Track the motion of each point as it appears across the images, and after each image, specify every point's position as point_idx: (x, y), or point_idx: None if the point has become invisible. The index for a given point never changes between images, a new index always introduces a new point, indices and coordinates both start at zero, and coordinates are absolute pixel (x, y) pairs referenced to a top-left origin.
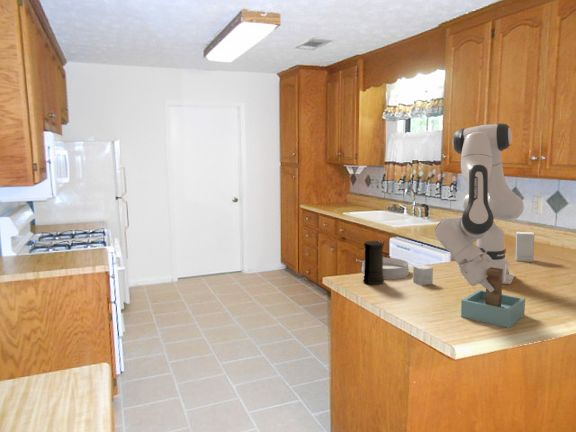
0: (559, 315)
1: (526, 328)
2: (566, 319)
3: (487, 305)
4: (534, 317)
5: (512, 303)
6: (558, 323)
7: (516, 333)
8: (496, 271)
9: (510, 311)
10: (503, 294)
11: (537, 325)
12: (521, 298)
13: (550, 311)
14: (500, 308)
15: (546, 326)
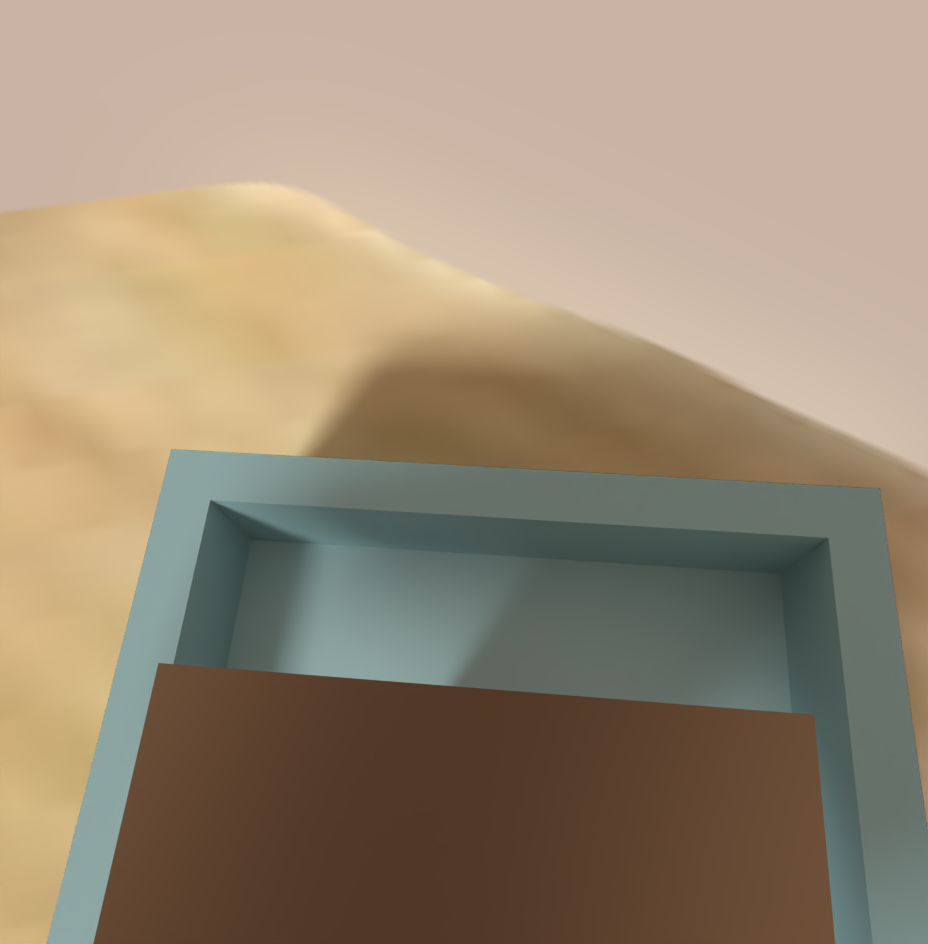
0: (101, 274)
1: (659, 428)
2: (189, 217)
3: (919, 863)
4: (278, 433)
5: (224, 631)
6: (336, 247)
7: (873, 472)
8: (823, 867)
9: (861, 493)
10: (96, 782)
11: (504, 368)
12: (192, 492)
13: (11, 351)
14: (897, 629)
15: (480, 305)
